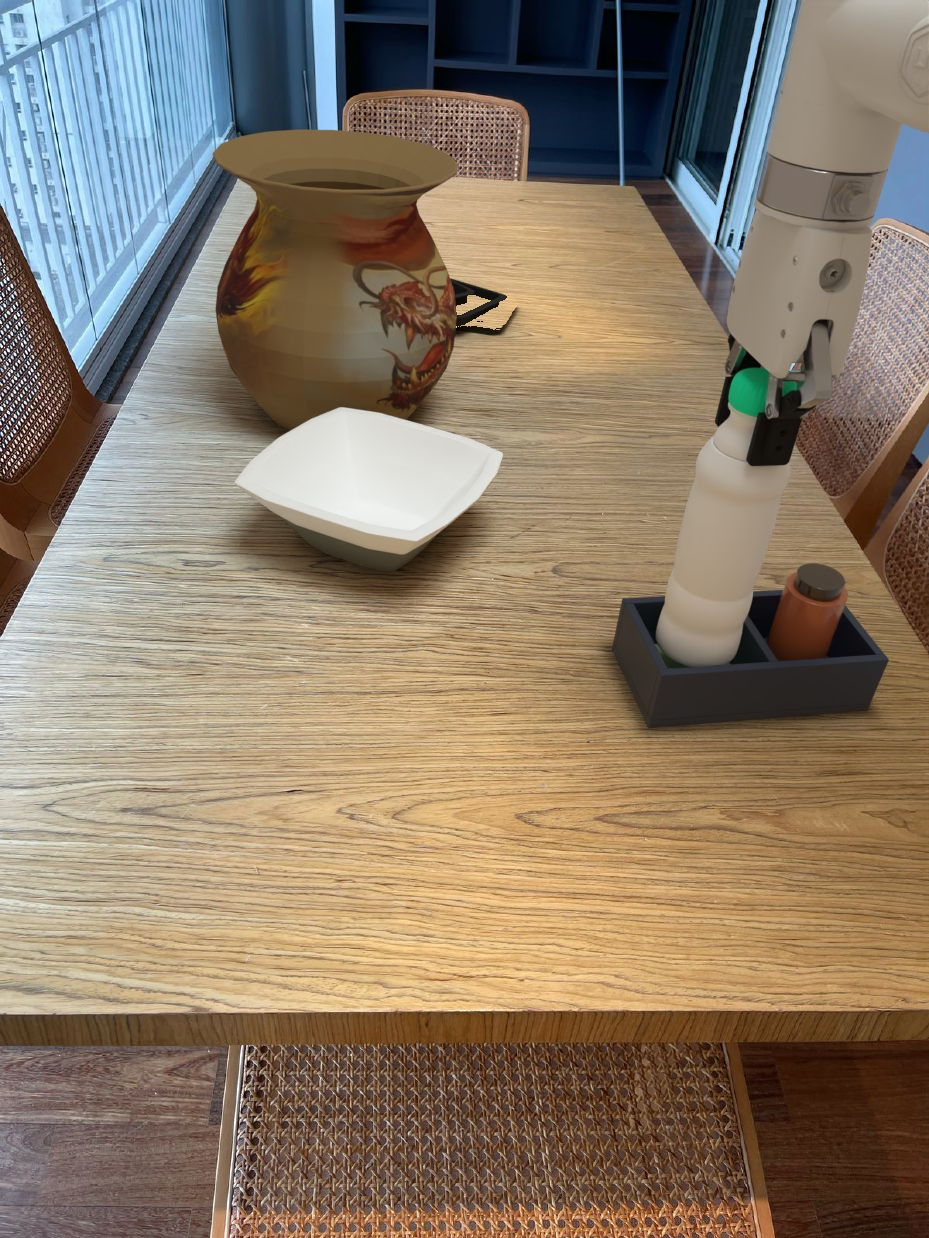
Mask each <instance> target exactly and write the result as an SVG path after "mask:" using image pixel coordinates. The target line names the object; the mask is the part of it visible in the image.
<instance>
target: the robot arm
mask: <svg viewBox="0 0 929 1238" xmlns="http://www.w3.org/2000/svg"><path fill="white" fill-rule="evenodd" d="M797 15H798V16H797V20H796V25H795V29H794V33H793V37H792V38H793V39H792V41H791V45H790V50H789V54H788V58H787V63H786V67H785V71H784V75H783V81H782V85H781V88H780V93H779V97H778V100H777V105H776V109H775V110H776V111H775V113H774V118H773V122H772V125H771V126H772V127H771V132H770V135H769V140H768V144H767V148H766V152H765V155H764V161H763V165H762V169H761V173H760V177H759V182H758V185H757V191H756V195H755V198H754V202H753V203H754V204H753V206H754V208H755V211H754V215H753V218H752V220H751V222H750V226H749V230H748V232H747V235H746V238H745V241H744V245H743V248H742V251H741V255H740V258H739V262H738V265H737V268H736V273H735V276H734V281H733V284H732V288H731V293H730V297H729V302H728V308H727V311H726V326H727V329H728V332H729V335H728V338H727V343H728V349H729V353H728V356H727V358H726V360H725V364H724V373H725V374H726V375H727V376H725V377H724V381H723V386H722V390H721V393H720V397H719V402H718V405H717V410H716V414H715V419H714V424H715V425H716V426H717V428H719V426H720V425H721V424H722V423H724V422H725V421H726V420H727V419H728V418H729V416H730V413H731V411H730V409H729V407H728V402H729V399H728V398H729V391H730V387H731V383H732V380H733V378H734V376H735V375H736V374H737V373H738V372H740V371H741V370H744V369H747V368H765V369H766V370H767V371H769V380H768V389H767V397H766V406H765V412H758V416H757V420H756V424H755V427H754V431H753V435H752V438H751V442H750V446H749V450H748V453H747V457H746V461H747V462H748V464H749V465H750V466H778V465H786V464H788V463H789V464H790V461H791V458H792V454H793V451H794V448H795V444H796V441H797V438H798V434H799V431H800V428H801V426H802V425H801V424H802V421H803V419H806V418H808V416H809V415H810V412H811V411H812V410H813V409H815V408H816V407H817V406H818V405H821V404H823V403H824V402H827V401H829V400H830V399H831V398H832V396H833V393H834V389H833V379H835V378H837V377H839V376H840V374H841V373H842V371H843V369H844V366H845V363H846V360H847V357H848V354H849V350H850V347H851V342H852V339H853V336H854V331H855V329H856V328H855V327H856V324H857V320H858V316H859V313H860V312H859V311H860V309H861V304H862V300H863V295H864V290H865V286H866V281H867V275H868V269H869V264H870V256H871V250H872V240H873V239H872V238H873V230H872V229H871V228H870V226H871V225H872V223H873V221H874V217H875V213H876V211H877V207H878V204H879V200H880V198H881V194H882V192H883V188H884V185H885V182H886V178H887V175H888V171H889V168H890V165H891V162H892V158H893V155H894V152H895V148H896V145H897V142H898V139H899V136H900V132H901V129H902V126H903V125H904V126H907V127H908V128H912V129H914V130H917V131H920V132H924V133H927V134H929V0H801V3H800V7H799V12H798V14H797ZM792 364H801V366H800V370H791V367H792ZM783 381H795V382H796V384H797V389H796V390H792V391H790V392H788V393H787V394H786V395H784V396H783V397H782V391H783V383H784V382H783Z"/></svg>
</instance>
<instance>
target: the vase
mask: <svg viewBox="0 0 929 1238" xmlns="http://www.w3.org/2000/svg"><path fill="white" fill-rule="evenodd" d="M212 156H213V158H214V161H215V163H216V165H217V166H218V167H220V168H221V169H223V170H224V171H225V172H227V173H229V174H230V175H232V176H233V177H235V178H236V179H238V180H240V181H241V182H243V183H244V184H245V185H247V186H249V187H250V188H251V189H252V190H253V191H254V193H255V197H256V201H255V204H254V208H253V210H252V213H251V214H250V215H249V217H248V218H247V221H246V222H245V224H244V226H243V227H242V229H241V231H240V232H239V234H238V237H237V238H236V241H235V243H234V245H233V247H232V249H231V251H230V253H229V256H228V257H227V260H226V262H225V264H224V266H223V269H222V273H221V275H220V279H219V281H218V284H217V288H216V289H217V290H216V300H215V316H216V325H217V331H218V334H219V338H220V341H221V345H222V348H223V351H224V353H225V357H226V359H227V362H228V364H229V367H230V369H231V370H232V372H233V374H234V375H235V376H236V378H237V379H238V381H239V383H240V384H241V386H242V387H243V389H245V391H247V392H248V394H249V396H251V397H252V399H253V400H254V401H255V402H256V403H257V405H258V406H259V407H260V408H261V409H262V410H263V411H264V413H265V414H266V415H267V416H268V417H269V418H270V419H271V420H272V421H273V422H274V423H276V424H277V425H278V426H280V427H281V428H284V429H286V430H288V431H291V430H293V429H294V428H296V427H298V426H300V425H301V424H303V423H305V422H307V421H308V420H310V419H312V418H315V417H317V416H320V415H322V414H324V413H327V412H329V411H332V410H334V409H337V408H340V407H344V408H351V409H358V410H364V411H371V412H378V413H382V414H386V415H389V416H393V417H397V418H400V419H404V420H408V419H409V418H410V416H411V415H412V414H413V413H414V412H415V411H416V410H417V408H418V407H419V406H420V405H421V403H422V402H423V401H424V400H425V398H427V396H428V395H430V393H431V392H432V391H433V389H434V388H435V387H436V386H437V384H438V383H439V381H440V380H441V378H442V376H443V374H444V373H445V372H446V370H447V368H448V366H449V363H450V359H451V358H452V357H451V356H452V354H453V351H454V346H455V339H456V330H457V329H456V315H457V312H456V302H455V293H454V288H453V286H452V283H451V280H450V278H451V277H450V274H449V271H448V268H447V266H446V264H445V262H444V260H443V258H442V255H441V253H440V251H439V249H438V247H437V244H436V242H435V241H434V239H433V236H432V235H431V233H430V231H429V229H428V228H427V225H426V224H425V222H424V220H423V218H422V216H421V215H420V213H419V208H418V205H417V204H418V200H419V199H420V198H422V196H424V195H425V194H427V193H428V192H430V191H432V190H434V189H436V188H437V187H440V185H443V184H444V183H446V182H447V181H449V180H451V179H452V178H453V177H454V176H456V175H458V161H456V160H455V159H454V158H453V157H452V156H450V155H449V154H448V153H447V152H445V151H443V150H441V149H438V148H435V147H433V146H431V145H429V144H426V143H423V142H418V141H414V140H411V139H406V138H402V137H398V136H390V135H385V134H378V133H372V132H365V131H351V130H341V129H340V130H339V129H287V130H273V131H263V132H257V133H252V134H251V133H250V134H247V135H241V136H238V137H235V138H233V139H230V140H227V141H224V142H221V143H220V145H218V147H216V149H215V150H214V151H213V152H212Z"/></svg>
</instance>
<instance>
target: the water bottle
mask: <svg viewBox="0 0 929 1238" xmlns="http://www.w3.org/2000/svg"><path fill="white" fill-rule="evenodd" d="M768 380H769V371H767V370H766V369H765V368H747V369H744V370H741V371H740V372H738V373H737V374H736V375H735V376H734V378H733V380H732V383H731V387H730V391H729V398H728V399H729V402H728V407H729V409H730V411H731V413H730V416H729V418H728V419H727V420H726V421H725V422H724V423H722V424H721V425H720V426H719V427H717V429H716V431H715V432H714V434H713V435H712V436H711V437H710V438H709V439H708V440H707V442H706V443H705V444H704V445H703V446H702V448H701V449H700V450H699V453H698V455H697V457H696V461H695V466H694V467H695V477H694V479H693V482H692V485H691V487H690V491H689V495H688V498H687V501H686V505H685V509H684V513H683V516H682V520H681V525H680V530H679V533H678V538H677V543H676V549H675V555H674V562H673V569H672V570H671V573H670V574H669V577H668V581H667V584H666V588H665V593H664V596H665V604H664V606H663V609H662V611H661V614H660V617H659V621H658V625H657V629H656V641H657V644H658V646H659V647H660V649H661V650H662V651H663V652H664V653H665V654H666V655H667V656H668V657H669V658H670V659H672V660H674V661H675V662H677V663H679V664H681V665H684V666H687V667H703V666H718V665H726V664H727V663H729V662H730V661H731V660H732V659H733V658H734V657H735V655H736V653H737V650H738V647H739V643H740V640H741V635H742V630H743V623H744V621H745V619H746V617H747V615H748V612H749V609H750V606H751V603H752V598H753V591H754V587H755V585H756V583H757V581H758V579H759V576H760V573H761V570H762V568H763V565H764V562H765V559H766V556H767V553H768V550H769V547H770V543H771V540H772V536H773V533H774V531H775V526H776V523H777V519H778V514H779V510H780V505H781V500H782V494H783V493H784V492H785V491H786V489H787V487H788V484H789V481H790V478H791V465H790V462H789V463H788V464H786V465H778V466H750V465H749V464H748V462H747V461H746V457H747V453H748V450H749V446H750V442H751V438H752V435H753V431H754V427H755V424H756V420H757V416H758V412H765V406H766V397H767V389H768ZM783 382H784V383H783V391H782V397H783V396H784V395H786V394H787V393H788V392H790V391H792V390H796V389H797V381H783Z"/></svg>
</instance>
